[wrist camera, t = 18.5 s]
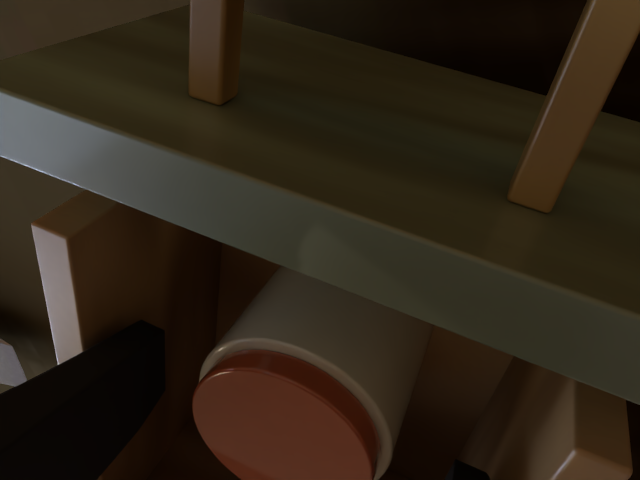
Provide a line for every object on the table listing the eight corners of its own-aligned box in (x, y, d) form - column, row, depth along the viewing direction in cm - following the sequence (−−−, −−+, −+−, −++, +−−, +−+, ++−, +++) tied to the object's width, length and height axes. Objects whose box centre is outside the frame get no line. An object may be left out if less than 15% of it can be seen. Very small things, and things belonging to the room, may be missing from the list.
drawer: (213, -275, 10) (-178, -453, 5) (903, -167, 8) (1604, -289, 2) (193, 365, 21) (64, 525, 16) (480, 494, 19) (442, 735, 13)
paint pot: (412, 382, 16) (357, 546, 12) (274, 324, 16) (181, 459, 13) (460, 264, 13) (410, 425, 9) (293, 204, 14) (183, 326, 10)
